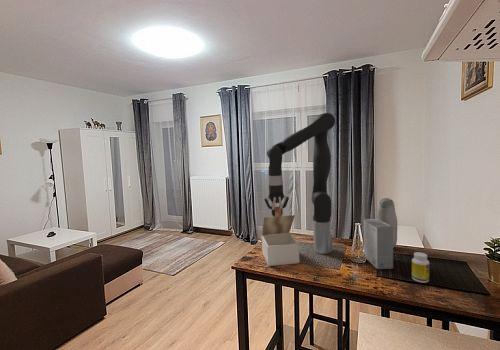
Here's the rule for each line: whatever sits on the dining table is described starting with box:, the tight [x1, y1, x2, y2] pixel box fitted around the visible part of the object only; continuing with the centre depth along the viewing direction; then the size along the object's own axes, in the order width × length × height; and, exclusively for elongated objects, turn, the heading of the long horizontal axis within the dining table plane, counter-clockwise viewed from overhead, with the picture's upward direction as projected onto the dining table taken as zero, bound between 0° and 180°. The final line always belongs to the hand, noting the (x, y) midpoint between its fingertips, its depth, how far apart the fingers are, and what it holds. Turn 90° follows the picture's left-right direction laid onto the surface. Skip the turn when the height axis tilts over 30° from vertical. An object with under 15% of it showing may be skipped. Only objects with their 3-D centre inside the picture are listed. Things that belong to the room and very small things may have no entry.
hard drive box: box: [363, 218, 394, 270], centre depth 127 cm, size 16×8×20 cm, turn 179°
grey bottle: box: [376, 197, 398, 249], centre depth 143 cm, size 10×10×28 cm
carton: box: [261, 232, 300, 267], centre depth 139 cm, size 16×18×10 cm
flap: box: [261, 205, 296, 236], centre depth 143 cm, size 16×18×6 cm
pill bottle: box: [411, 251, 430, 284], centre depth 109 cm, size 6×6×11 cm
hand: (277, 215), depth 139 cm, fingers closed on flap, 3 cm apart
